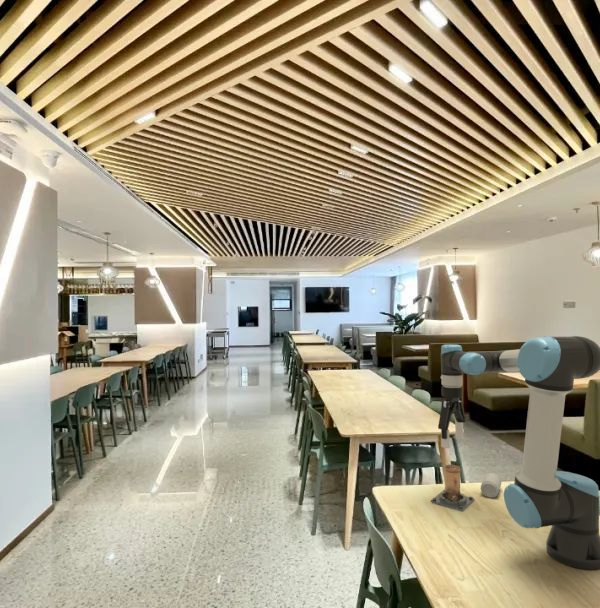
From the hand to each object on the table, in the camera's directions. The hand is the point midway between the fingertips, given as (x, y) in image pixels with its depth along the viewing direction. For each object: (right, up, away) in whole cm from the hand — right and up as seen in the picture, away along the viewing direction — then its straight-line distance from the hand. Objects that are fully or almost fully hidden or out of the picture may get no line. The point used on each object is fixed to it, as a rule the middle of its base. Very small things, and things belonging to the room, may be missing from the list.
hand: (452, 443), depth 172 cm
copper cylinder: (0, -21, 0) cm, 21 cm away
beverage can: (+15, -18, +2) cm, 24 cm away
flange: (0, -22, 0) cm, 22 cm away
